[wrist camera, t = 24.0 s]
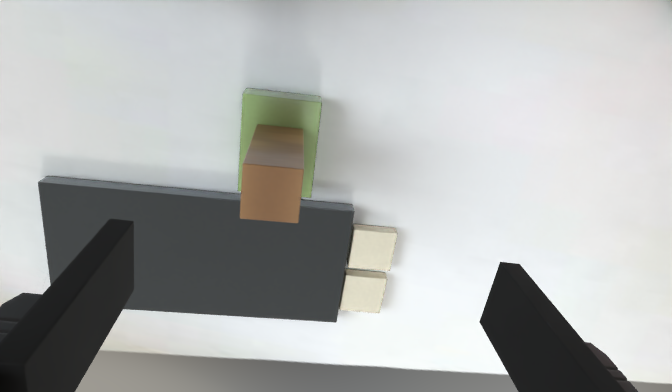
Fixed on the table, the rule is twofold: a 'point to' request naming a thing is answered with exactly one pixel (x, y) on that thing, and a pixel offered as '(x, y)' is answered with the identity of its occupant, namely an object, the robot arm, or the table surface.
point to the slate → (206, 248)
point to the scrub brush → (277, 153)
